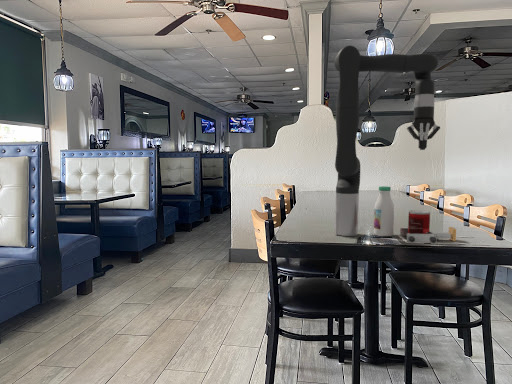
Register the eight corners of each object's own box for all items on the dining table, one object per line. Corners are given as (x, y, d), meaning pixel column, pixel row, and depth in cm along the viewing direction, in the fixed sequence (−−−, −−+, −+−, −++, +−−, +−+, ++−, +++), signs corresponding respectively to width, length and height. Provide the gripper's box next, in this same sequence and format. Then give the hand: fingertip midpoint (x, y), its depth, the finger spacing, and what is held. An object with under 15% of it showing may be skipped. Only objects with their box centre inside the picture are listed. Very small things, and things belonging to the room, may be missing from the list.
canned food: (425, 237, 155) (426, 210, 154) (432, 241, 147) (433, 212, 146) (405, 237, 156) (406, 209, 155) (411, 241, 148) (412, 212, 147)
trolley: (407, 242, 145) (408, 230, 144) (399, 234, 160) (399, 223, 159) (460, 243, 142) (461, 231, 142) (446, 235, 157) (447, 224, 157)
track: (406, 242, 145) (406, 242, 145) (397, 235, 160) (397, 234, 160) (489, 245, 141) (489, 244, 141) (472, 237, 156) (472, 236, 156)
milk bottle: (393, 233, 163) (394, 186, 161) (393, 237, 156) (394, 187, 154) (374, 232, 165) (375, 185, 164) (373, 236, 158) (374, 187, 157)
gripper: (409, 105, 154) (407, 149, 156) (444, 105, 152) (442, 149, 154) (404, 108, 162) (403, 150, 163) (438, 107, 160) (436, 150, 161)
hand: (422, 149), depth 159 cm, fingers closed
